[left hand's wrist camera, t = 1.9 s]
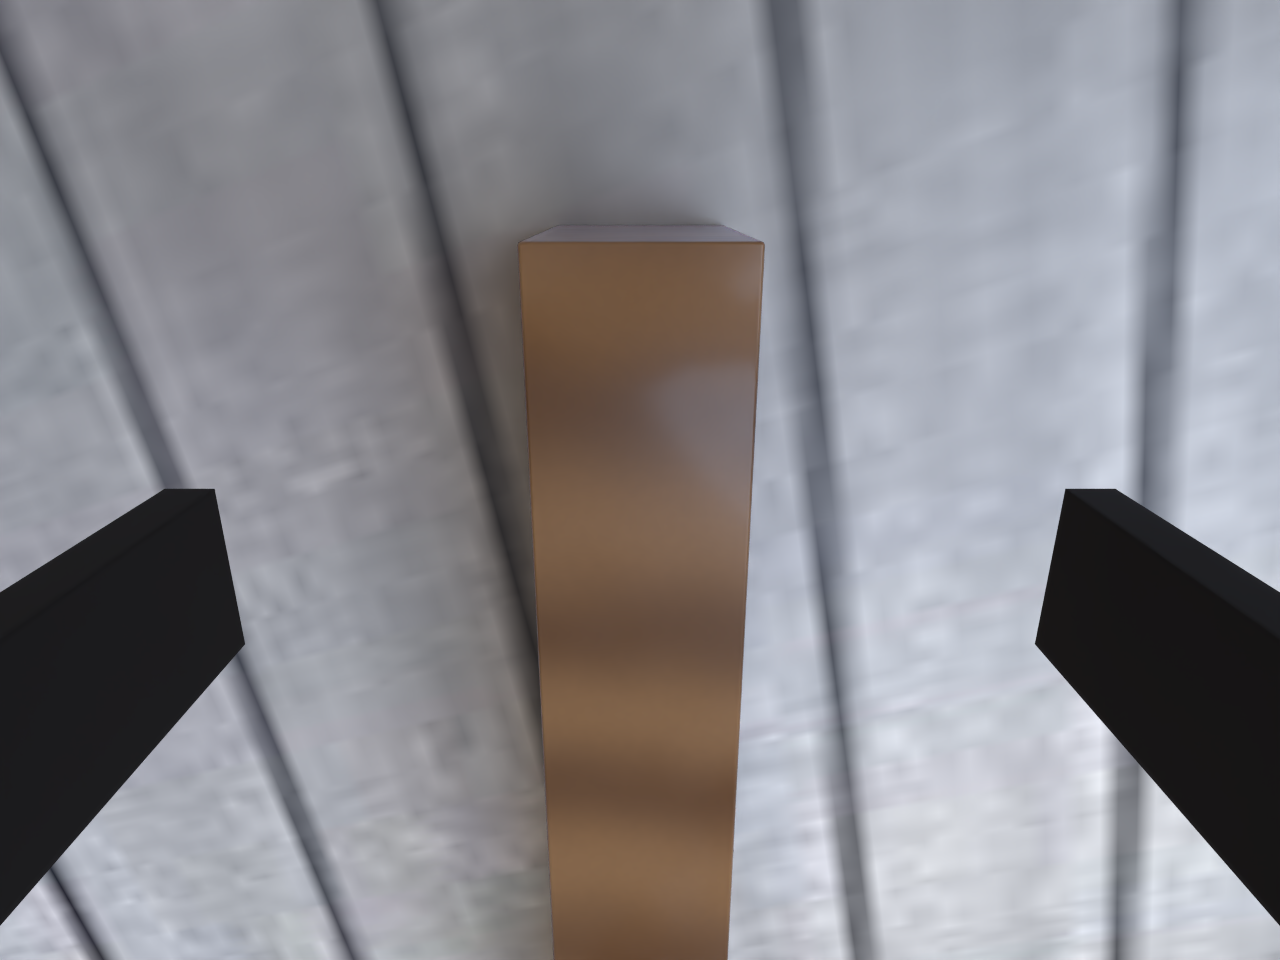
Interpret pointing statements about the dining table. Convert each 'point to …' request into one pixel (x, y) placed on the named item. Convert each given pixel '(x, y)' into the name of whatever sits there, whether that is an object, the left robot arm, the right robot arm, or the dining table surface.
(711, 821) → the beam
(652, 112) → the dining table surface
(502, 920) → the dining table surface
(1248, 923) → the dining table surface
